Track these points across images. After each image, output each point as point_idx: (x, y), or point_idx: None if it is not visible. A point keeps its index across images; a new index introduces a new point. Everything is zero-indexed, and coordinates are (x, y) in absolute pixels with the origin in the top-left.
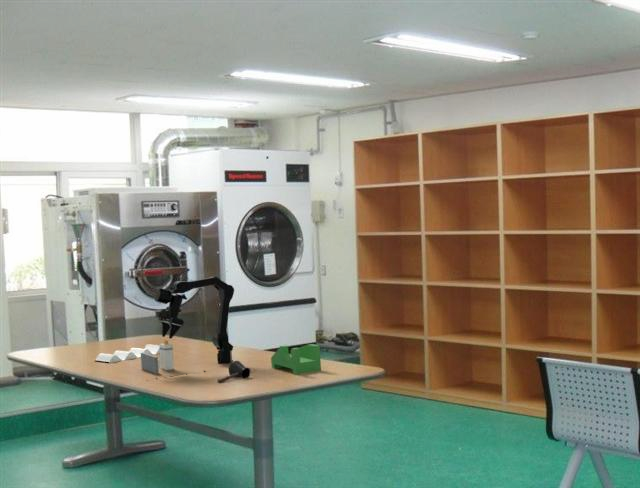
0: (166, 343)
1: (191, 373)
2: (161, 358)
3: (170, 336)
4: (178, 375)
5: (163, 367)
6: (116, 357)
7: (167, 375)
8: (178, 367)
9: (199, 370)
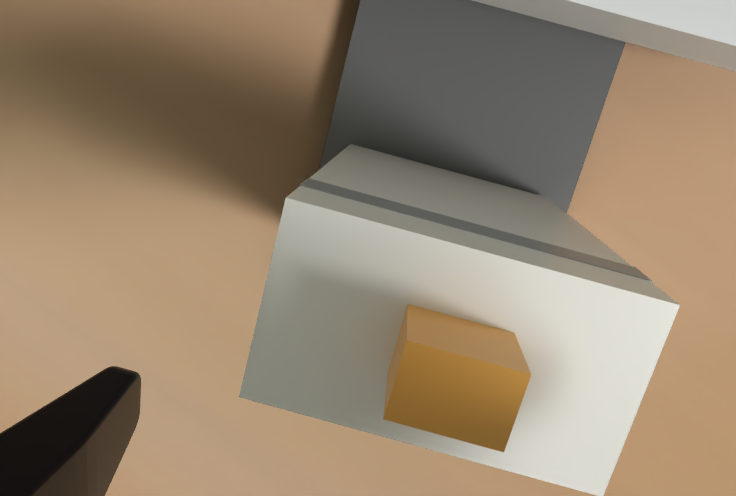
0: (398, 345)
1: (5, 251)
2: (524, 210)
3: (56, 418)
4: (24, 86)
5: (447, 173)
6: None
7: (151, 12)
8: None
9: None
